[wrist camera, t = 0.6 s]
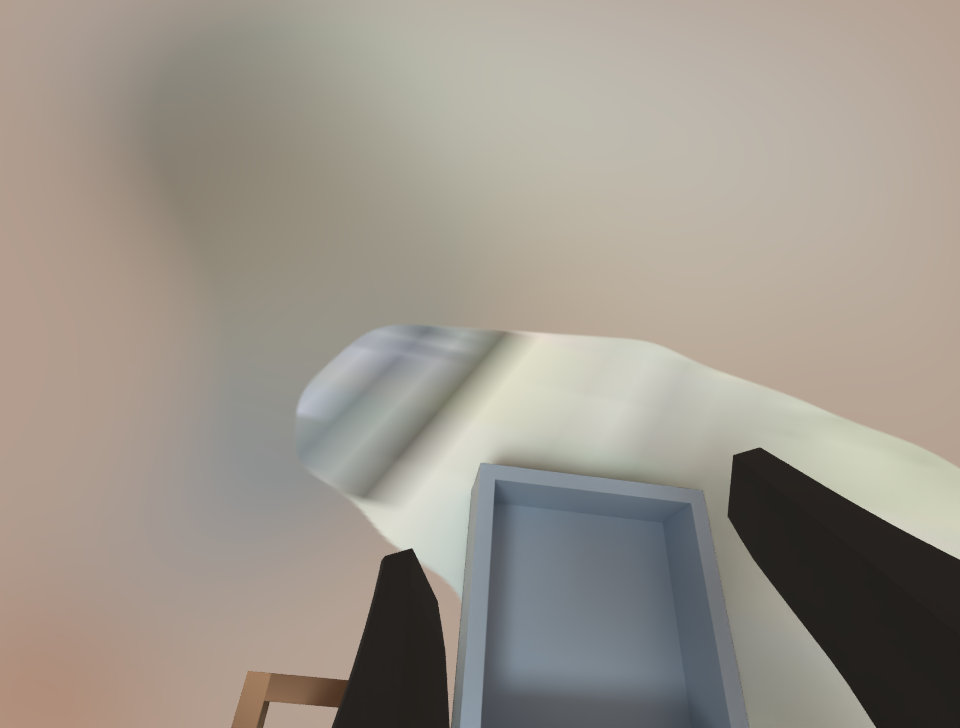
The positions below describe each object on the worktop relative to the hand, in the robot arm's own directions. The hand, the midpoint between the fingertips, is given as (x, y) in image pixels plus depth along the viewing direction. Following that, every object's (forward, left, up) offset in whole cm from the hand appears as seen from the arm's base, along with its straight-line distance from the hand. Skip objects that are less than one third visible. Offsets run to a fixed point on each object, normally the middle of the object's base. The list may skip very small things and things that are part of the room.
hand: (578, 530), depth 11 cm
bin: (+1, -5, -17) cm, 18 cm away
